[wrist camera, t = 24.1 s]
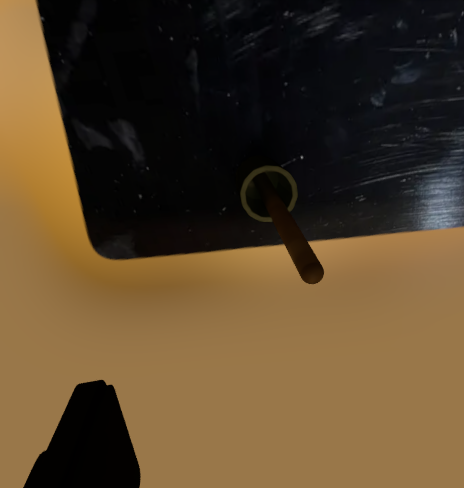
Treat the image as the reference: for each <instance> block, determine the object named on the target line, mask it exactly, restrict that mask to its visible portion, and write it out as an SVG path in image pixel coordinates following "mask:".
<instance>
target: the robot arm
mask: <svg viewBox="0 0 464 488" xmlns="http://www.w3.org/2000/svg"><path fill="white" fill-rule="evenodd" d="M139 487H140V468H139V464H138V461H137V458H136V455H135V452H134V448H133V445H132V442H131V439H130V436H129V433H128V430H127V426H126V423H125V420H124V417H123V414H122V411H121V408H120V404H119V401H118V398H117V395H116V392H115V389H114V387H113V385H106V383H105V382H104V380H98V381H93V382H87V383H81V384H78V385H77V386H76V387H75V389H74V391H73V393H72V396H71V398H70V400H69V402H68V405H67V407H66V409H65V411H64V413H63V415H62V418H61V420H60V422H59V424H58V426H57V428H56V431H55V433H54V435H53V437H52V439H51V442H50V444H49V446H48V448H47V450H46V451H44V452H42V453H41V454H40V455H39V457H38V458H37V460H36V462H35V464H34V466H33V468H32V470H31V472H30V474H29V476H28V479H27V481H26V483H25V485H24V487H23V488H139Z"/></svg>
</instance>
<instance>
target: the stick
mask: <svg viewBox="0 0 464 488" xmlns="http://www.w3.org/2000/svg"><path fill="white" fill-rule="evenodd" d="M252 181H253V183H254V185H255V187H256V189H257V191H258V193H259V195H260V197H261V199H262V201H263V203H264V205H265V207H266V209H267V211H268V213H269V215H270V217H271V219H272V221H273V223H274V225H275V227H276V229H277V231H278V233H279V235H280V237H281V238H282V240H283V242H284V244H285V246H286V248H287V250H288V252H289V254H290V256H291V258H292V260H293V262H294V264H295V266H296V268H297V270H298V272H299V274H300V276H301V278H302V280H303V281H305V282H306V283H308V284H316V283H318V282H320V280H321V279H322V278H323V275H324V270H323V267H322V265H321V264H320V262H319V260H318V259H317V257H316V255H315V254H314V252H313V250H312V249H311V247H310V245H309V244H308V242H307V240H306V239H305V237H304V235H303V234H302V232H301V230H300V229H299V227H298V225H297V224H296V222H295V220H294V219H293V217H292V215H291V214H290V212H289V211H288V209H287V207H286V206H285V204H284V202H283V201H282V199H281V197H280V196H279V194H278V192H277V191H276V189H275V187H274V186H273V184H272V182H271V181H270V179H269V177H268V176H267V174H266V172H265V171H264V172H262V173H259V174H257V175H255V177H254V178H253V179H252Z"/></svg>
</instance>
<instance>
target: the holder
mask: <svg viewBox="0 0 464 488" xmlns="http://www.w3.org/2000/svg"><path fill="white" fill-rule="evenodd" d="M264 171H265V172H266V174H267V176H268V177H269V179H270V181H271V182H272V184H273V186H274V187H275V189H276V191H277V192H278V194H279V196H280V197H281V199H282V201H283V202H284V204H285V206H286V207H287V209H288V211H289V212H290V211H291V210H292V209H293V208H294V205H295V202H296V200H297V196H298V194H297V184H296V182H295V180H294V179H293V177H292V176H291V174H290V173H289V172H288V171H287V170H285V169H284V168H283V167H282V166H280V165H279V164H278V163H277V162H275V161H274V160H272V159H270V158H268V157H266V156H260V155H258V156H252V157H249V158H247V159H246V160H244V161H243V162H242V163H241V164H240V166H239V167H238V169H237V171H236V175H235V184H236V189H237V192H238V195H239V198H240V201H241V204H242V206H243V208H244V209H245V211H246V212H247V213H248V215H249V216H251V217H253V218H254V219H256V220H258V221H260V222H273V221H272V219H271V217H270V215H269V213H268V211H267V209H266V207H265V205H264V203H263V201H262V199H261V197H260V195H259V193H258V191H257V189H256V187H255V185H254V183H253V181H252V179H253V178H254V177H255V175H257V174H259V173H262V172H264Z"/></svg>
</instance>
